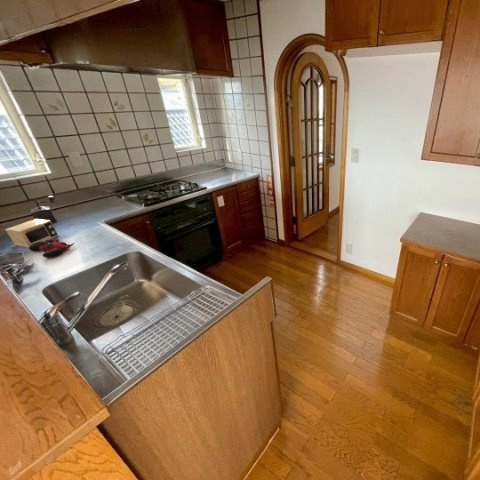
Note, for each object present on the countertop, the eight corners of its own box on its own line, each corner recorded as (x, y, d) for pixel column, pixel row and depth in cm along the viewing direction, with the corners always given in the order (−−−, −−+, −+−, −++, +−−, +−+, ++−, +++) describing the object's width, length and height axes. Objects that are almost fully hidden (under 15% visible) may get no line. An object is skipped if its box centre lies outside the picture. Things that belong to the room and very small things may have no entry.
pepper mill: (37, 225, 186) (23, 201, 177) (36, 221, 192) (23, 197, 184) (66, 218, 195) (54, 195, 187) (64, 215, 202) (52, 192, 194)
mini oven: (15, 245, 161) (5, 229, 155) (45, 233, 174) (36, 218, 169) (31, 247, 158) (21, 231, 152) (60, 235, 171) (51, 220, 166)
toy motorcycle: (50, 262, 146) (81, 245, 157) (44, 255, 143) (75, 238, 154) (31, 253, 156) (61, 238, 167) (24, 246, 153) (55, 231, 164)
